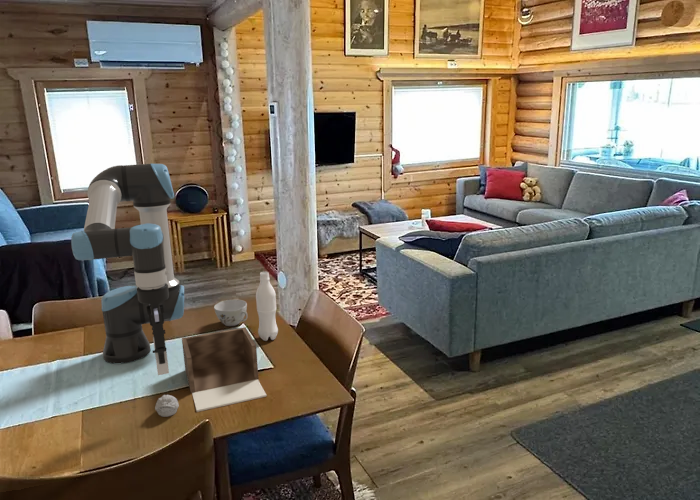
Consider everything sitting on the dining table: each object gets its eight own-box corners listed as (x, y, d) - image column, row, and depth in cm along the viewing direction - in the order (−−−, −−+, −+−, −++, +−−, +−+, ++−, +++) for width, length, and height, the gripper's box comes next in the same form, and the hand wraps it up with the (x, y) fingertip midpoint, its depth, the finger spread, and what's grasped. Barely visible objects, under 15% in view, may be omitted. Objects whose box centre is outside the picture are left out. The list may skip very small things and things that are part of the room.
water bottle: (281, 335, 197) (277, 270, 191) (272, 343, 190) (268, 276, 184) (264, 333, 199) (260, 269, 193) (255, 340, 193) (250, 275, 186)
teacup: (208, 325, 208) (207, 306, 206) (232, 315, 218) (231, 297, 216) (235, 333, 199) (233, 313, 197) (259, 323, 209) (257, 303, 207)
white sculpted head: (154, 425, 141) (151, 402, 139) (159, 411, 148) (156, 389, 146) (178, 423, 142) (175, 400, 140) (181, 409, 149) (179, 387, 147)
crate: (191, 397, 155) (187, 358, 152) (185, 374, 169) (181, 338, 166) (258, 383, 162) (256, 345, 159) (248, 362, 176) (245, 327, 173)
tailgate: (192, 397, 155) (197, 415, 145) (192, 393, 154) (196, 410, 144) (258, 383, 162) (266, 399, 152) (257, 379, 162) (266, 394, 152)
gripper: (171, 295, 127) (180, 380, 133) (164, 272, 147) (173, 347, 152) (137, 300, 124) (149, 387, 130) (135, 275, 144) (145, 352, 149)
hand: (162, 365), depth 141 cm, fingers open, 9 cm apart
